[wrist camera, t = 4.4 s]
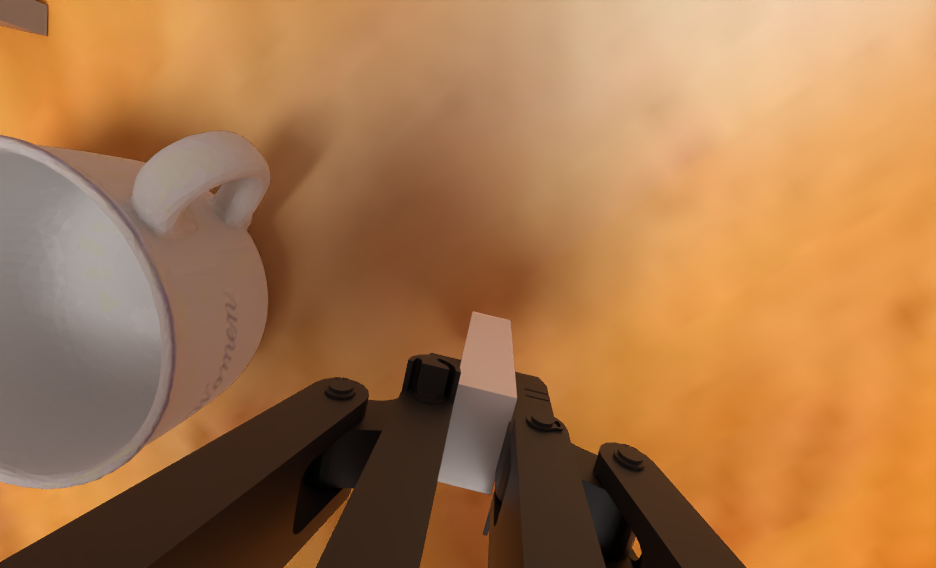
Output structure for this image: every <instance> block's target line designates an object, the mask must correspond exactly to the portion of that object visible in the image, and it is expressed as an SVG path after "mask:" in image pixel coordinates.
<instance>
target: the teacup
mask: <svg viewBox="0 0 936 568" xmlns="http://www.w3.org/2000/svg"><path fill="white" fill-rule="evenodd" d="M270 181H271V180H270V170H269V166H268V164H267V162H266V160H265V159H264V157H263V156H262V155H261V153H260V152H259V151H258V150H257V149H256V148H255V147H254V146H253V145H252V144H251V143H250V142H249V141H248V140H247V139H245V138H244V137H243V136H240V135H238V134H236V133H232V132H227V131H210V132H205V133H200V134H195V135H190V136H187V137H185V138H183V139H180V140H178V141H176V142H174V143H172V144H170V145H168V146H167V147H165V148H163V149H162V150H160V151H159V152H158V153H156V154H155V155H154V156H153V157H152V158H151V159H150V160H149V161H148V162H147V163H146V162H142V161H137V160H133V159H128V158H122V157H116V156H110V155H104V154H98V153H92V152H86V151H79V150H72V149H65V148H57V147H49V146H41V145H35V144H32V143H30V142H27V141H23V140H20V139H16V138H13V137H8V136H3V135H0V482H3V483H6V484H13V485H17V486H21V487H30V488H40V489H53V488H66V487H72V486H76V485H82V484H85V483H88V482H91V481H94V480H98V479H100V478H102V477H103V476H105V475H106V474H109V473H111V472H113V471H115V470H116V469H118V468H119V467H121V466H122V465H124V464H125V463H127V462H128V461H130V460H131V459H132V458H133V457H134V456H135V455H136V454H137V453H138V452H139V451H140V450H141V449H142V448H143V447H144V446H146V445H147V444H149V443H151V442H152V441H154V440H155V439H157V438H159V437H160V436H162V435H163V434H165V433H166V432H168V431H169V430H171V429H172V428H174V427H175V426H177V425H178V424H180V423H181V422H183V421H184V420H186V419H187V418H189V417H190V416H192V415H193V414H194V413H196V412H197V411H199V410H200V409H201V408H203V407H204V406H205V405H207V404H208V403H210V402H211V401H212V400H214V399H215V398H216V397H217V396H219V395H220V394H221V393H222V392H223V391H225V390H226V389H227V388H228V387H229V386H230V385H231V384H232V383H233V382H234V381H235V380H236V379H237V378H238V377H239V376H240V374H241V373H242V372H243V371H244V370H245V368H246V367H247V366H248V364H249V362H250V361H251V359H252V358H253V356H254V354H255V352H256V350H257V348H258V346H259V344H260V341H261V338H262V336H263V333H264V329H265V325H266V320H267V311H268V288H267V281H266V276H265V271H264V266H263V263H262V260H261V257H260V255H259V252H258V250H257V248H256V246H255V244H254V242H253V239H252V238H251V236H250V235H249V233H248V231H247V229H248V227H249V225H250V224H251V221H252V217H253V215H252V214H253V213H254V212H255V210H256V209H257V207H258V205H259V204H260V202H261V200H262V199H263V197H264V195H265V194H266V192H267V190H268V188H269V184H270ZM220 185H221V186H220ZM217 186H220V188H219V189H218V191H217V192H216V194H215V195H214V194H213V193H211V192H210V191H209V190H211V189H213V188H215V187H217Z"/></svg>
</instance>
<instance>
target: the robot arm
mask: <svg viewBox="0 0 936 568" xmlns="http://www.w3.org/2000/svg"><path fill="white" fill-rule="evenodd" d="M368 397H369V394H368V390H367V389H366V388H365V387H364V385H362V384H360V383H358V382H356V381H353V380H349V379H348V378H341V377H335V378H329V379H323V380H320V381H318V382H315V383H314V384H312V385H310V386H308V387H307V388H305V389H303V390H301V391H300V392H298V393H296V394H294V395H293V396H291V397H289V398H287V399H286V400H284V401H282V402H280V403H278V404H277V405H275V406H273V407H271V408H270V409H268V410H266V411H264V412H263V413H261V414H259V415H257V416H256V417H254V418H252V419H250V420H249V421H247V422H245V423H243V424H242V425H240V426H238V427H236V428H235V429H233V430H231V431H229V432H228V433H226V434H224V435H222V436H221V437H219V438H217V439H215V440H214V441H212V442H210V443H208V444H207V445H205V446H203V447H201V448H200V449H198V450H196V451H194V452H193V453H191V454H189V455H187V456H186V457H184V458H182V459H180V460H179V461H177V462H175V463H173V464H171V465H170V466H168V467H166V468H164V469H163V470H161V471H159V472H157V473H156V474H154V475H152V476H150V477H149V478H147V479H145V480H143V481H142V482H140V483H138V484H136V485H135V486H133V487H131V488H129V489H128V490H126V491H124V492H122V493H121V494H119V495H117V496H115V497H114V498H112V499H110V500H108V501H107V502H105V503H103V504H101V505H100V506H98V507H96V508H94V509H93V510H91V511H89V512H87V513H86V514H84V515H82V516H80V517H79V518H77V519H75V520H73V521H71V522H70V523H68V524H66V525H64V526H63V527H61V528H59V529H57V530H56V531H54V532H52V533H50V534H49V535H47V536H45V537H43V538H42V539H40V540H38V541H36V542H35V543H33V544H31V545H29V546H28V547H26V548H24V549H22V550H21V551H19V552H17V553H15V554H14V555H12V556H10V557H8V558H7V559H5V560H3V561H1V562H0V568H283V567H284V566H285V565H286V564H287V563H288V562H289V561H290V560H291V559H292V558H293V556H294V555H295V554H296V553H297V552H298V551H299V550H300V549H301V548H302V547H303V546H304V545H305V543H306V542H307V541H308V540H309V539H310V538H311V537H312V536H313V535H314V534H315V533H316V532H317V530H318V529H319V528H320V527H321V526H322V525H323V524H324V523H325V522H326V521H327V520H328V518H329V517H330V516H331V515H332V514H333V513H334V512H335V511H336V510H337V509H338V508H339V507H340V505H341V504H342V503H343V502H344V501H345V500H346V499H347V497H348V495H349V494H350V491H351V488H354V490H353V492H352V494H351V496H350V498H349V500H348V502H347V505H346V507H345V509H344V511H343V513H342V515H341V517H340V519H339V521H338V523H337V525H336V527H335V529H334V531H333V533H332V535H331V537H330V540H329V542H328V544H327V546H326V548H325V550H324V552H323V554H322V556H321V558H320V560H319V562H318V564H317V566H316V568H419V566H420V562H421V557H422V552H423V547H424V543H425V538H426V533H427V528H428V524H429V519H430V514H431V509H432V505H433V500H434V495H435V490H436V486H437V482H441V483H445V484H449V485H453V486H457V487H461V488H465V489H469V490H473V491H477V492H481V493H485V494H489V495H491V492H492V489H493V485H494V481H495V492H494V495H493V499H492V503H491V506H490V510H489V513H488V517H487V521H486V524H485V528H484V532H483V535H488V532H489V551H488V568H746V567H745V565H744V564H743V563H742V562H741V561H740V560H739V559H738V558H737V556H736V555H735V554H734V553H733V552H732V551H731V550H730V548H729V547H728V546H727V545H726V544H725V543H724V542H723V540H722V539H721V538H720V537H719V536H718V535H717V534H716V533H715V531H714V530H713V529H712V528H711V527H710V526H709V525H708V523H707V522H706V521H705V520H704V519H703V518H702V517H701V515H700V514H699V513H698V512H697V511H696V510H695V509H694V508H693V506H692V505H691V504H690V503H689V502H688V501H687V500H686V498H685V497H684V496H683V495H682V494H681V493H680V492H679V490H678V489H677V488H676V487H675V486H674V485H673V484H672V483H671V481H670V480H669V479H668V478H667V477H666V476H665V475H664V473H663V472H662V471H661V470H660V469H659V468H658V467H657V465H656V464H655V463H654V462H653V461H652V460H651V459H649V458H648V457H647V456H646V455H644V454H643V453H641V452H639V451H638V450H637V449H636V448H634V447H630V446H629V445H626V444H619V443H605V444H603V445H601V447H600V450H599V453H598V455H596V454H593V453H591V452H589V451H586V450H584V449H582V448H580V447H578V446H576V445H574V444H572V443H571V441H570V437H569V434H568V430H567V429H566V427H565V425H564V424H563V423H562V422H561V421H559V420H558V419H557V418H555V417H554V415H553V411H552V407H551V403H550V398H549V396H548V390H547V386H546V385H545V384H544V383H543V382H542V381H541V380H540V379H539V378H538V377H534V376H530V375H526V374H522V373H518V372H515V366H514V354H513V343H512V331H511V320H508V319H503V318H499V317H495V316H491V315H487V314H482V313H478V312H474V311H473V312H472V316H471V321H470V325H469V329H468V333H467V338H466V342H465V346H464V350H463V354H462V359H461V360H458V359H454V358H450V357H446V356H442V355H438V354H434V353H430V354H428V355H416V356H412V357H411V358H410V359H409V360H408V364H407V368H406V373H405V378H404V383H403V387H402V391H401V393H400V395H399V397H398V398H397V399H394V400H387V401H375V400H368ZM635 537H637V539H638V542H639V544H640V547H641V551H642V554H641V556H640V558H638V557H637V556H636V554H635V552H634V551H633V549H632V546H633V543H634V540H635Z"/></svg>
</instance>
